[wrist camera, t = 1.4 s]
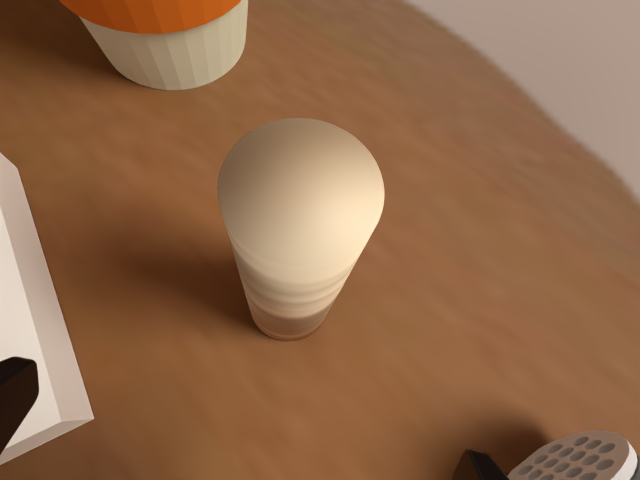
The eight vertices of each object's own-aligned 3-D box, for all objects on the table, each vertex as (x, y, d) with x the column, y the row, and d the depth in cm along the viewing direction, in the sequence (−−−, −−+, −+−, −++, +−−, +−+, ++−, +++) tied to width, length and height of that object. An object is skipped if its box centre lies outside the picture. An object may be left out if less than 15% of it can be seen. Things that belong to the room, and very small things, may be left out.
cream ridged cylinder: (341, 319, 21) (414, 223, 10) (269, 355, 20) (260, 295, 9) (306, 252, 22) (336, 98, 11) (236, 283, 21) (191, 149, 10)
